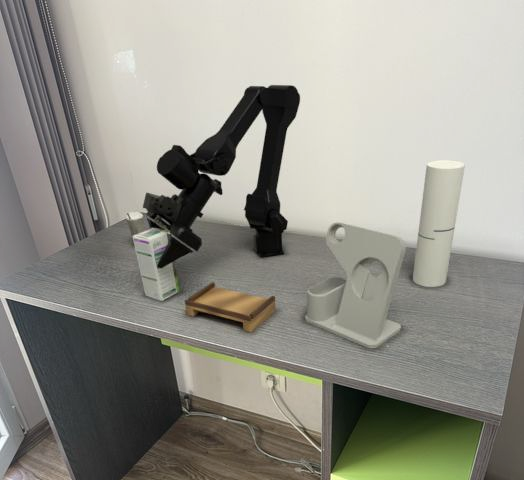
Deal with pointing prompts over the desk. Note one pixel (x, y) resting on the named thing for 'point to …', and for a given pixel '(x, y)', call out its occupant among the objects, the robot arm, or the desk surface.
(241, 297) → the wooden tray
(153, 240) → the syrup box
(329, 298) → the phone holder
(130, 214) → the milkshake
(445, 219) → the cylindrical container
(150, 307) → the desk surface
